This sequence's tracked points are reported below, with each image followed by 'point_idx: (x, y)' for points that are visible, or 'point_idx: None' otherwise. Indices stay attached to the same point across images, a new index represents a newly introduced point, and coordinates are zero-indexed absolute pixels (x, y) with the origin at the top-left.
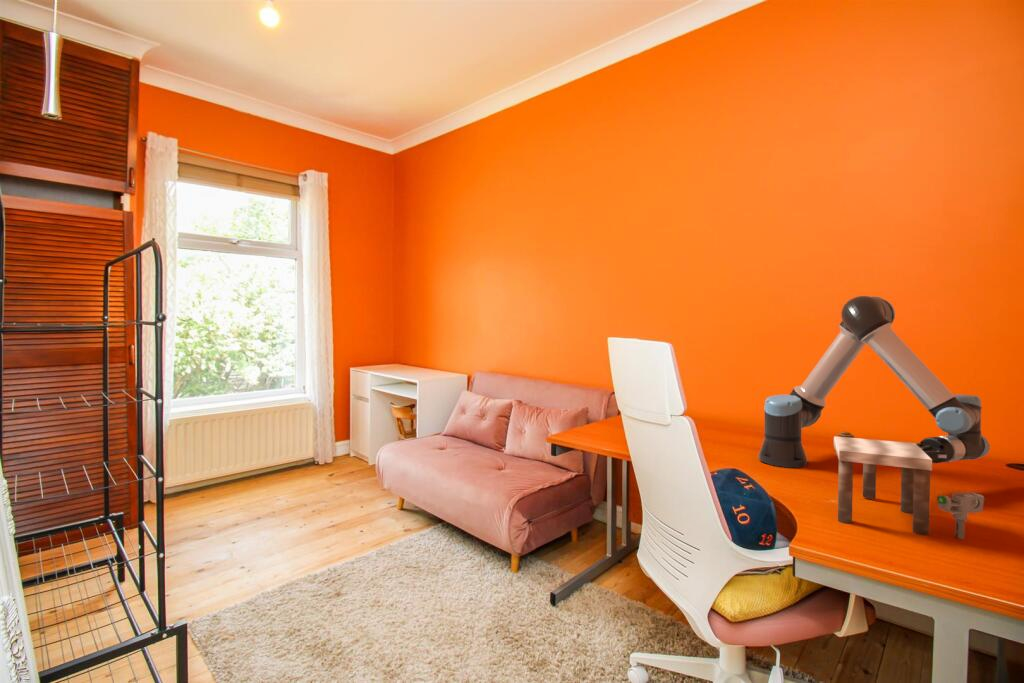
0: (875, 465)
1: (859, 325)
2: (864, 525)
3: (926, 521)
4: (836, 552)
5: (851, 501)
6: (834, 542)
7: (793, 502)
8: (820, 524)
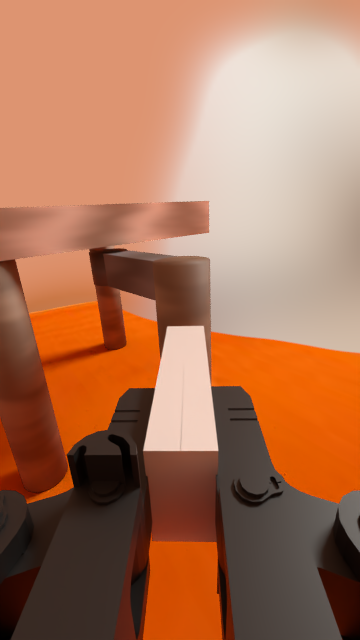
0: (160, 352)
1: None
2: (87, 352)
3: None
4: (73, 308)
5: (99, 309)
6: (86, 314)
7: (216, 337)
8: (127, 324)
